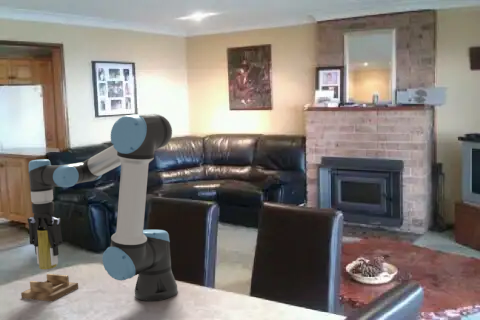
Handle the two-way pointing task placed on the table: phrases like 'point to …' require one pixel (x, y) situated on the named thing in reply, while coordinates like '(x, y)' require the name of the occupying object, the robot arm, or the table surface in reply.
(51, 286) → the holder
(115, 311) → the table surface
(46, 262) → the vase
